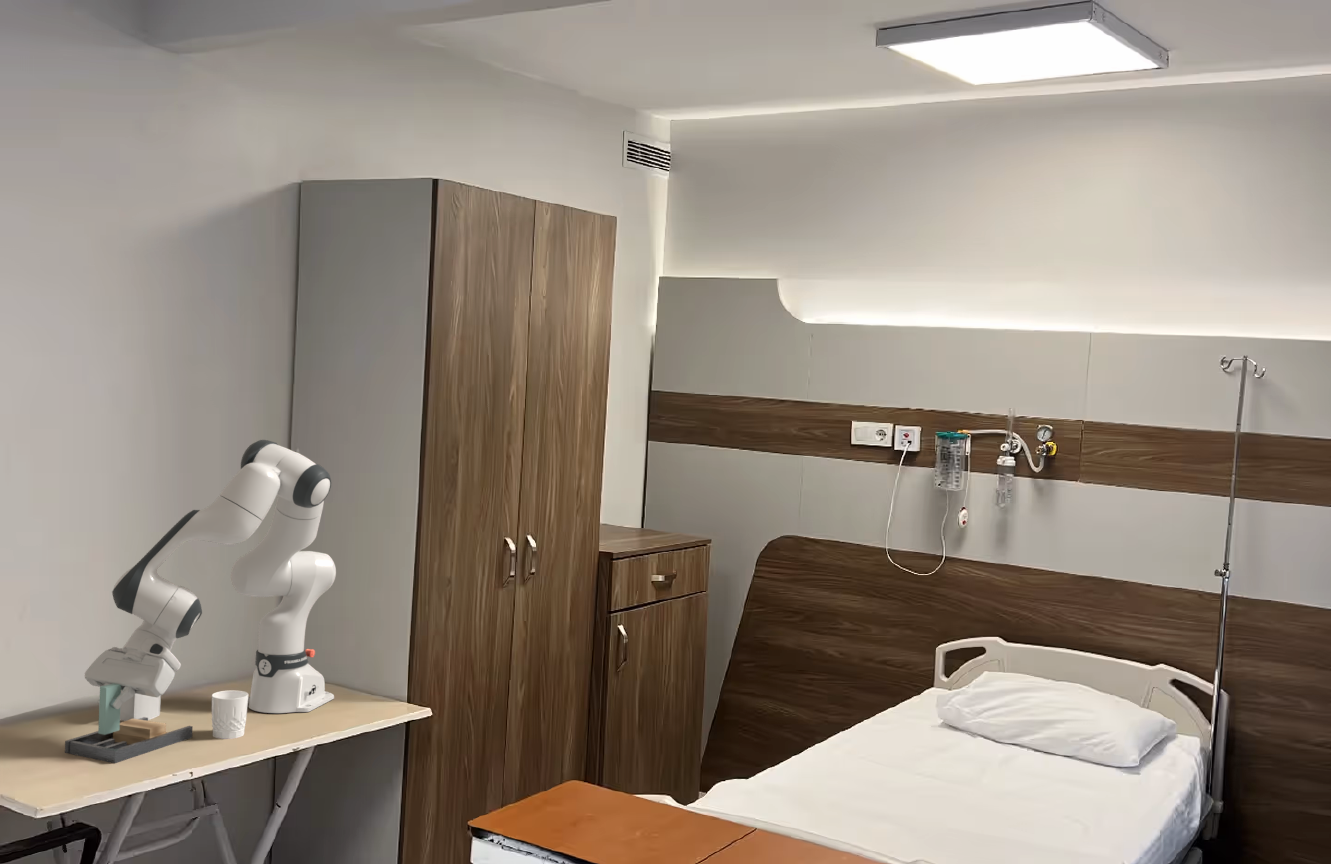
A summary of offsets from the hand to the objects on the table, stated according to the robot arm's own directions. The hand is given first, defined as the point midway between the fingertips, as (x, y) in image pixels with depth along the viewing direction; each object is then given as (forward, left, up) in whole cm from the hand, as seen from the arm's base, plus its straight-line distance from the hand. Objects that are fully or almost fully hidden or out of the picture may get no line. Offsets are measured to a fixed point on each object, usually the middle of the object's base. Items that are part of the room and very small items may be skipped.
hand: (107, 706), depth 260 cm
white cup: (-24, +12, -11) cm, 29 cm away
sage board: (-1, 0, -6) cm, 6 cm away
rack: (-7, 0, -11) cm, 13 cm away
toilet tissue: (-25, -16, -11) cm, 31 cm away
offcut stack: (-10, 0, -10) cm, 14 cm away
